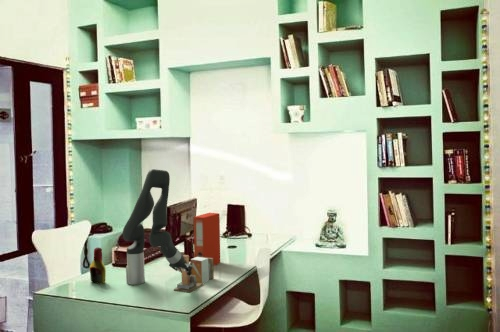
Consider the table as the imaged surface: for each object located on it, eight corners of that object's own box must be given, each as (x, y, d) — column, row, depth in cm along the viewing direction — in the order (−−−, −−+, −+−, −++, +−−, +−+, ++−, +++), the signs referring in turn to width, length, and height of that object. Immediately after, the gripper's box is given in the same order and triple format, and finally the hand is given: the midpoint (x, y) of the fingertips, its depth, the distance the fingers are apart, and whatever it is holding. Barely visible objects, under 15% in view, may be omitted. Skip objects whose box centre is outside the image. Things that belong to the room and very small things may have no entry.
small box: (190, 281, 268) (190, 259, 267) (198, 278, 273) (197, 256, 273) (202, 284, 264) (201, 260, 263) (209, 281, 269) (208, 258, 268)
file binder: (220, 262, 307) (219, 213, 305) (205, 269, 292) (203, 217, 290) (210, 261, 311) (209, 212, 309) (194, 268, 296) (193, 216, 294)
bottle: (109, 283, 270) (107, 248, 268) (99, 285, 265) (97, 250, 264) (97, 279, 278) (96, 245, 276) (87, 281, 273) (86, 247, 272)
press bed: (173, 290, 253) (173, 268, 252) (198, 277, 277) (197, 256, 276) (190, 292, 249) (189, 270, 248) (213, 278, 273) (213, 258, 272)
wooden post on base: (177, 288, 253) (176, 256, 252) (185, 283, 261) (184, 252, 260) (188, 289, 251) (187, 257, 250) (196, 285, 258) (195, 253, 257)
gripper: (188, 251, 244) (201, 268, 256) (165, 249, 249) (178, 266, 261) (183, 264, 239) (196, 281, 251) (159, 262, 245) (173, 278, 257)
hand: (187, 273), depth 256 cm, fingers closed on wooden post on base, 3 cm apart
